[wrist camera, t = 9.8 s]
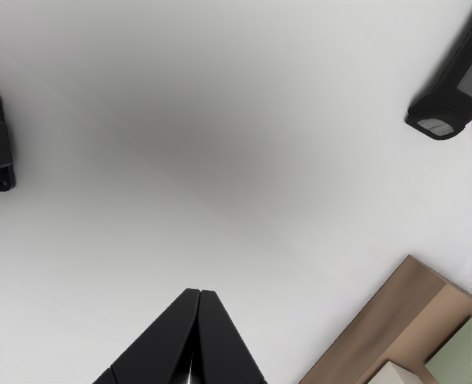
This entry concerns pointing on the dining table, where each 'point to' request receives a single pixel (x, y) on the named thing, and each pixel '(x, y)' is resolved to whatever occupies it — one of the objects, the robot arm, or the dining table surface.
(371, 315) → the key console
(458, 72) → the electric trimmer
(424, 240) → the dining table surface
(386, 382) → the cream key
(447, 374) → the sage key
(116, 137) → the dining table surface
